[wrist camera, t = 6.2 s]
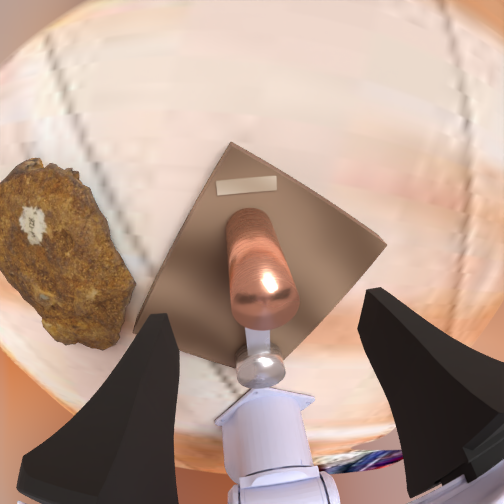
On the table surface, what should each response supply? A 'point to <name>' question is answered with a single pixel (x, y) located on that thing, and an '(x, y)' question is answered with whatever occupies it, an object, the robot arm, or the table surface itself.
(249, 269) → the lever
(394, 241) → the table surface
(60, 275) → the decorative rock
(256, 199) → the board
